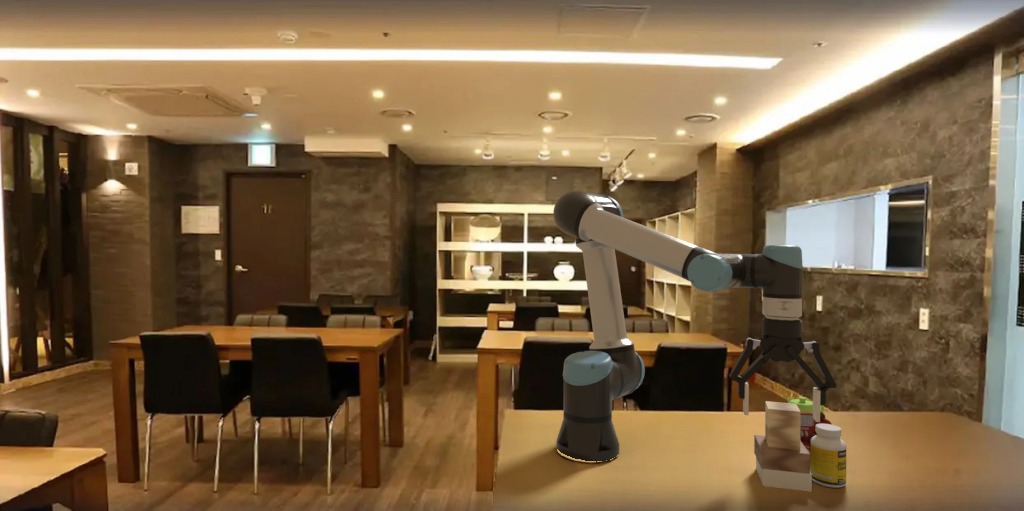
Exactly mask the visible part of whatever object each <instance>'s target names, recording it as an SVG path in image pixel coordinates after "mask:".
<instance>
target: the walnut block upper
mask: <svg viewBox="0 0 1024 511" xmlns="http://www.w3.org/2000/svg"><path fill="white" fill-rule="evenodd" d="M753 437H754V439H753V440H754V441H753V442H754V443H753V446H754V448H753V451H754V455H755V459H756V458H757V460H758V462H759V465H760V467H761V469H769V470H779V471H788V472H797V473H806V474H810V472H811V460H810V453H809V452H808V450H807V449H806V448H805V446H804V445H803V443H802V442H801V441H800V451H799V450H791V449H783V448H775V447H768V445H767V442H766V438H765V435H761V434H754V436H753Z"/></svg>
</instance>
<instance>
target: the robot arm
mask: <svg viewBox="0 0 1024 511" xmlns="http://www.w3.org/2000/svg"><path fill="white" fill-rule="evenodd" d="M552 212H553V213H552V214H553V215H552V216H553V220H554V223H555V225H556V227H557V228H558V229H559V231H561V232H563V233H564V234H565V235H568V236H572V237H574V241H575V247H576V248H578V249H579V250H580V251H581V252H582V256H583V259H582V260H583V265H584V273H585V279H586V287H587V294H588V295H587V296H588V303H589V309H590V316H591V317H590V320H591V325H592V326H591V327H592V335H593V341H592V343H591V344H590V345H589V350H584V351H578V352H575V353H571V354H569V355H568V356H567V357H566V358H565V359H564V362H563V371H562V378H563V382H562V383H563V385H562V386H563V392H562V393H563V395H562V397H563V400H562V401H563V403H562V404H563V406H562V407H563V419H562V422H561V426H560V428H559V432H558V434H557V437H556V443H555V444H556V446H555V448H556V447H557V449H558V450H559V451H560V452H561V453H563V454H565V455H567V456H570V457H572V458H575V459H581V460H585V461H596V462H597V461H606V460H610V459H612V458H614V457H616V456H617V455H618V454H619V455H620V443H619V439H618V436H617V433H616V430H615V426H614V423H613V420H612V419H613V415H612V414H613V413H612V412H613V401H615V400H617V399H619V398H622V397H625V396H627V395H630V394H632V393H634V392H635V391H636V390H637V389H638V388H639V387H640V386H641V385H642V384H643V381H644V378H645V372H646V369H645V368H646V367H645V363H644V361H643V359H642V357H641V356H640V355H639V354H638V353H637V352H636V350H635V344H634V341H633V340H631V339H630V337H628V336H627V328H626V322H625V314H624V306H623V298H622V293H621V284H620V278H619V270H618V264H617V263H618V262H617V257H616V251H618V252H621V253H623V254H625V255H627V256H630V257H632V258H634V259H637V260H638V261H641V262H644V263H647V264H648V265H651V266H654V267H656V268H657V269H660V270H662V271H665V272H667V273H670V274H672V275H674V276H677V277H680V278H682V279H683V280H686V281H687V282H690V283H691V285H692V286H693V287H694V288H695V289H697V290H700V291H704V292H708V293H709V292H710V293H711V292H712V293H714V292H718V291H721V290H726V289H732V288H743V289H744V288H745V289H748V288H749V289H762V305H761V306H762V308H761V310H762V311H761V314H762V315H763V318H762V320H761V325H762V326H761V330H762V331H761V338H760V339H755V338H754V339H753V338H751V337H749V336H748V337H746V339H745V343H744V344H745V345H744V348H743V349H742V351H741V353H740V355H739V357H738V358H737V360H736V362H735V363H734V365H733V366H732V369H731V371H729V372H730V373H729V374H728V376H729V378H730V380H731V381H734V382H736V383H737V395H738V398H739V399H741V400H743V401H742V402H743V404H742V412H743V414H744V416H750V415H749V413H750V411H749V408H750V407H749V405H750V404H749V403H750V401H749V400H750V397H749V396H750V392H749V391H750V385H749V382H748V380H750V379H751V378H753V376H754V375H755V374H756V373H757V372H758V371H759V370H760V369H762V367H763V366H764V365H765V364H767V363H768V362H769V361H770V360H771V361H773V362H785V363H791V362H793V361H795V362H796V364H798V366H799V367H800V368H801V370H803V372H804V373H806V375H807V376H808V378H810V379H811V380H812V382H813V384H815V385H816V386H817V387H815V386H814V387H812V402H813V419H814V420H815V421H816V422H820V410H821V406H820V405H823V406H826V404H827V403H826V402H827V400H826V399H827V391H828V390H829V389H835V388H836V387H837V382H836V381H835V379H834V378H833V375H832V374H831V372H830V370H829V368H828V365H827V364H826V362H825V360H824V359H823V357H822V354H821V352H820V351H821V350H820V345H819V343H818V342H817V341H815V340H811V341H807V342H804V341H803V339H802V336H803V333H802V332H803V331H802V329H803V321H802V320H801V317H802V316H803V277H804V276H803V275H804V274H803V273H804V266H803V250H802V248H801V247H800V246H799V245H796V244H795V245H794V244H793V245H792V244H791V245H787V244H784V245H782V244H778V245H775V244H774V245H772V244H771V245H769V244H768V245H767V244H766V245H764V246H763V249H762V252H761V253H755V254H751V253H725V252H722V253H717V252H714V251H711V250H709V249H706V248H704V247H700V246H698V245H696V244H693V243H690V242H687V241H685V240H683V239H680V238H677V237H675V236H671V235H669V234H666V233H664V232H661V231H658V230H656V229H654V228H651V227H648V226H646V225H645V224H640V223H638V222H635V221H632V220H631V219H628V218H625V217H624V213H623V209H622V207H621V206H620V204H619V202H618V201H617V200H616V199H614V198H613V197H611V196H608V195H607V194H603V193H599V192H597V193H594V192H588V191H583V190H571V191H567V192H565V193H564V194H562V195H561V196H560V197H559V198H558V199H557V201H555V204H554V208H553V211H552ZM799 318H800V319H799ZM757 347H761V350H763V351H761V353H760V354H759V355H758V357H757V358H755V360H754V361H753V362H752V363H751V364H750V365H749V366H748V367H747V368H746V369H745V370H744V371H743V372H742V373H741V371H742V370H743V368H744V366H745V364H746V363H747V361H748V360H749V358H750V356H751V354H752V353H753V350H756V349H757ZM804 349H806V351H807V352H808V353H811V356H812V357H813V360H814V362H815V363H816V365H817V368H818V369H819V371H820V373H821V375H822V377H823V379H824V381H822V379H821V378H820V377H819V376H818V375H817V374H816V373H815V372H814V370H812V368H811V367H810V366H809V365H808V364H807V363H806V362H805V360H804V359H803V358H802V357H801V356H800V354H801V353H802V351H803V350H804ZM740 373H741V374H740Z"/></svg>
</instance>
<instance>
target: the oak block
mask: <svg viewBox="0 0 1024 511" xmlns="http://www.w3.org/2000/svg"><path fill="white" fill-rule="evenodd" d="M764 402H765V406H764V410H765V411H764V413H765V414H764V415H765V420H764V422H765V424H764V425H765V427H764V429H765V430H764V436H765V438H766V442H767V445H768V447H775V448H783V449H791V450H799V451H800V410H799V408H798V406H797V405H796V404H792V403H788V402H780V401H779V402H778V401H769V400H765V401H764Z"/></svg>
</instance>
